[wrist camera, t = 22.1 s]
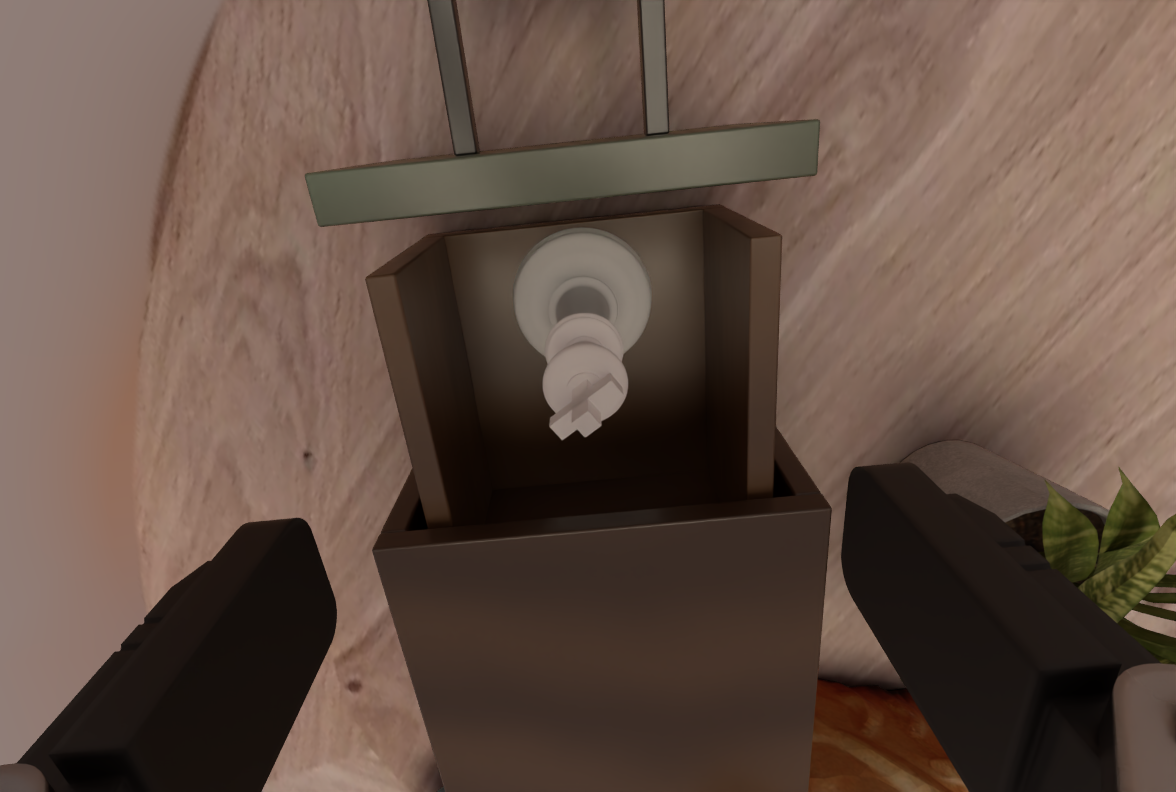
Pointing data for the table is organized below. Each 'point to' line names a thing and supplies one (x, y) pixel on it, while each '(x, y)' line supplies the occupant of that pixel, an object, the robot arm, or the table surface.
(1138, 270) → the table surface
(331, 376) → the table surface
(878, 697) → the ceramic vessel
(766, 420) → the drawer
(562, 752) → the cabinet
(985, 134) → the table surface
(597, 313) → the chess piece
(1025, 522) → the house plant
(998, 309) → the table surface
